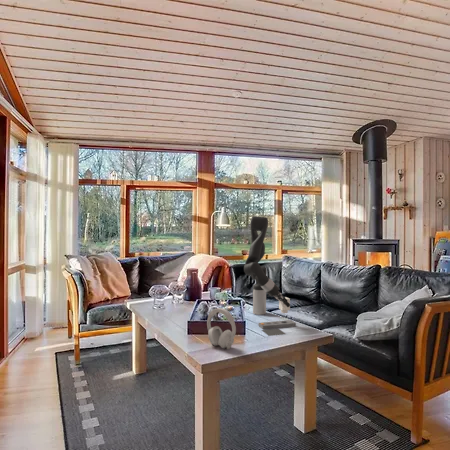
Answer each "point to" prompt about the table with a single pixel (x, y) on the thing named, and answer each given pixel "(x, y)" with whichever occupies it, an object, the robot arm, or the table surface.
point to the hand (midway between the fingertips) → (287, 305)
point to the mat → (273, 332)
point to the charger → (284, 306)
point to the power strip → (276, 324)
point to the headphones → (216, 333)
